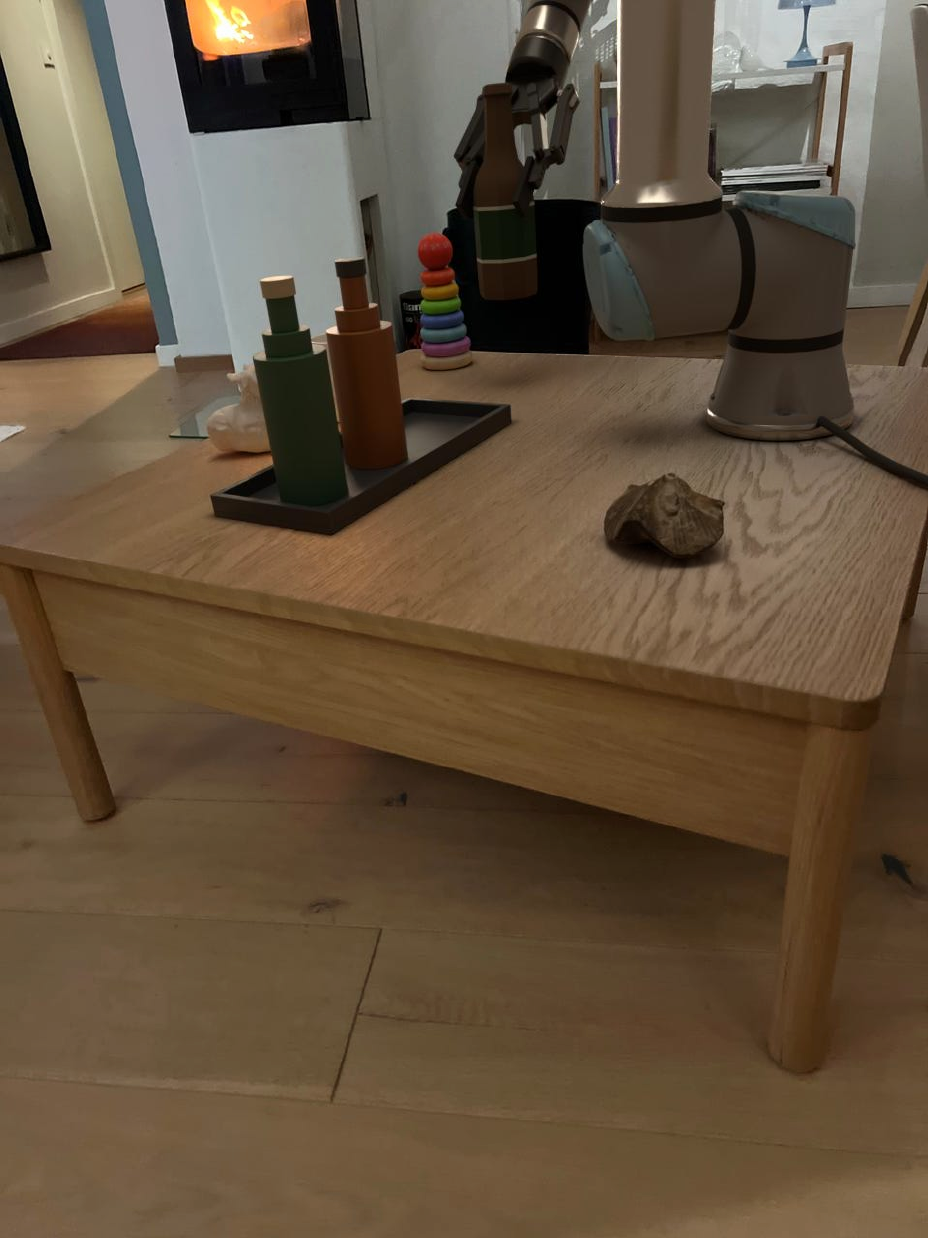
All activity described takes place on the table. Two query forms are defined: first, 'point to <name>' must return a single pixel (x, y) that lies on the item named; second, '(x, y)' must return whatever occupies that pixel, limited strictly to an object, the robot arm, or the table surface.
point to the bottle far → (298, 403)
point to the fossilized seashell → (666, 517)
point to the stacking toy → (441, 308)
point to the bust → (241, 418)
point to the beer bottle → (502, 208)
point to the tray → (430, 444)
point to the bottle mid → (365, 375)
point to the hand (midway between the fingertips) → (490, 210)
